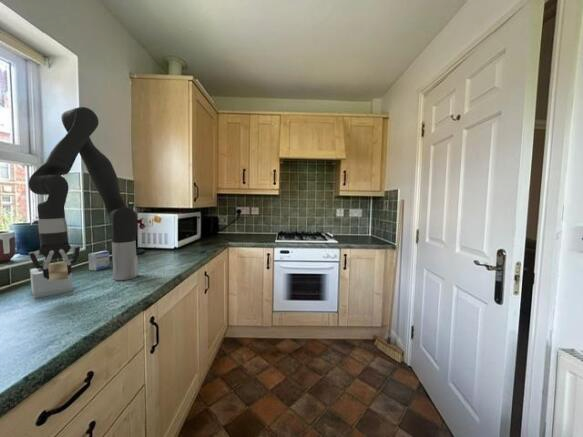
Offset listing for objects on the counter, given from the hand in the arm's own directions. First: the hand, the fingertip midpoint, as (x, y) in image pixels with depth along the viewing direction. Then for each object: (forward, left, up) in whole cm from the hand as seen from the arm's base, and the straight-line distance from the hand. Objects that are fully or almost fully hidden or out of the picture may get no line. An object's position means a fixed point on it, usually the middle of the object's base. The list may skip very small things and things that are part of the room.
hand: (58, 276), depth 93 cm
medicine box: (+3, -42, -9) cm, 43 cm away
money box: (+7, -10, -8) cm, 15 cm away
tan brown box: (0, 0, -1) cm, 1 cm away
